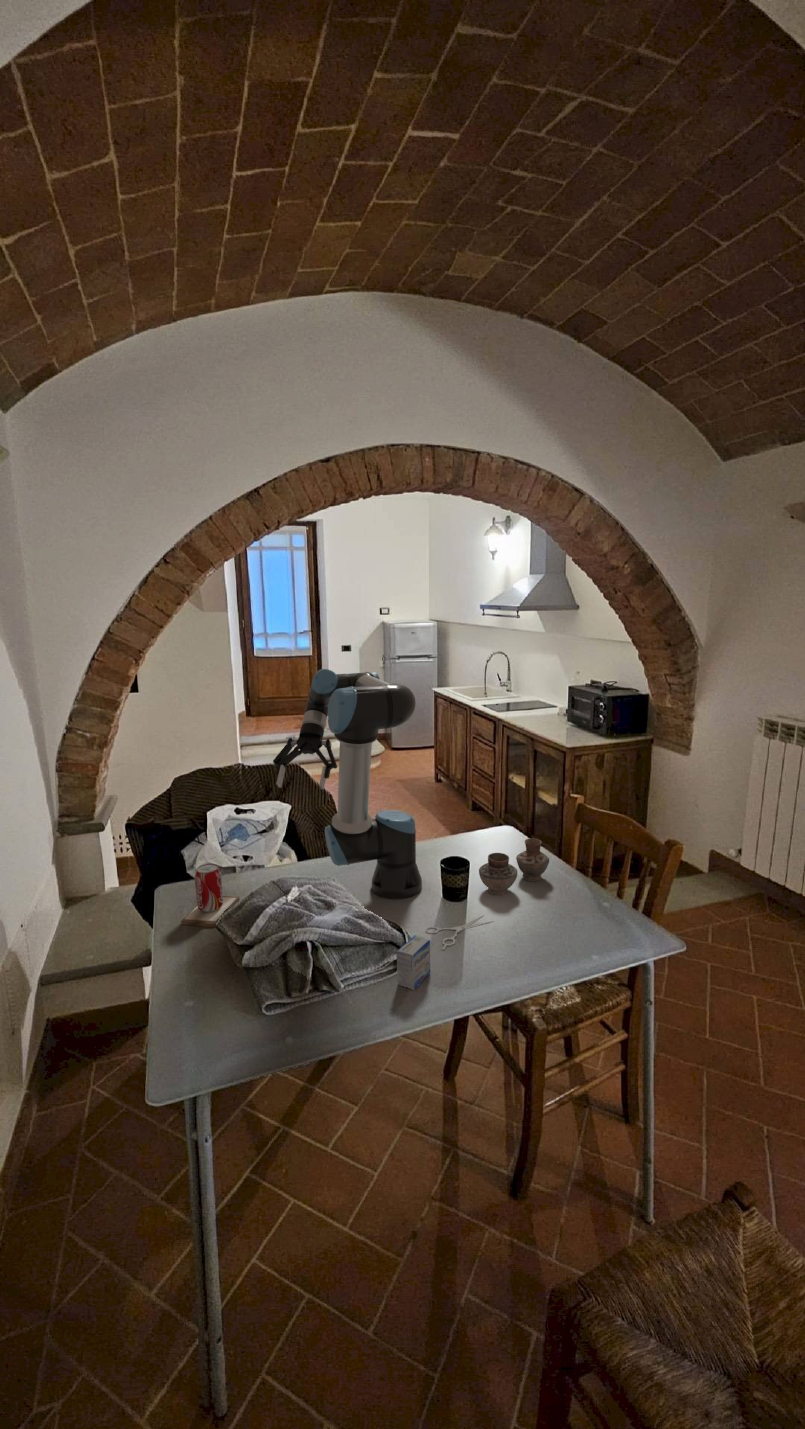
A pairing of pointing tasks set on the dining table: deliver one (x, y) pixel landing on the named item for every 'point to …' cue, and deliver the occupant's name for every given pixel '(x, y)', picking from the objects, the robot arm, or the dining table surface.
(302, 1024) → the dining table surface
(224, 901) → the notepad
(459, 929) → the scissors
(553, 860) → the dining table surface
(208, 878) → the soda can
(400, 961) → the medicine box
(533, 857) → the pottery
